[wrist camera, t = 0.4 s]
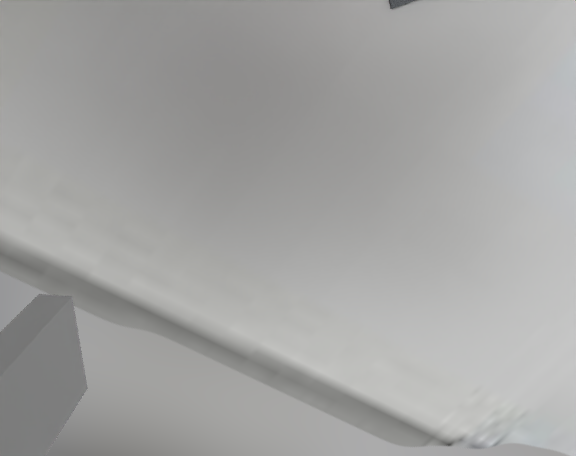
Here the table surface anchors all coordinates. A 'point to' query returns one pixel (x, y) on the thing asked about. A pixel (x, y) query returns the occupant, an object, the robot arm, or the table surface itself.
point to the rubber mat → (398, 2)
